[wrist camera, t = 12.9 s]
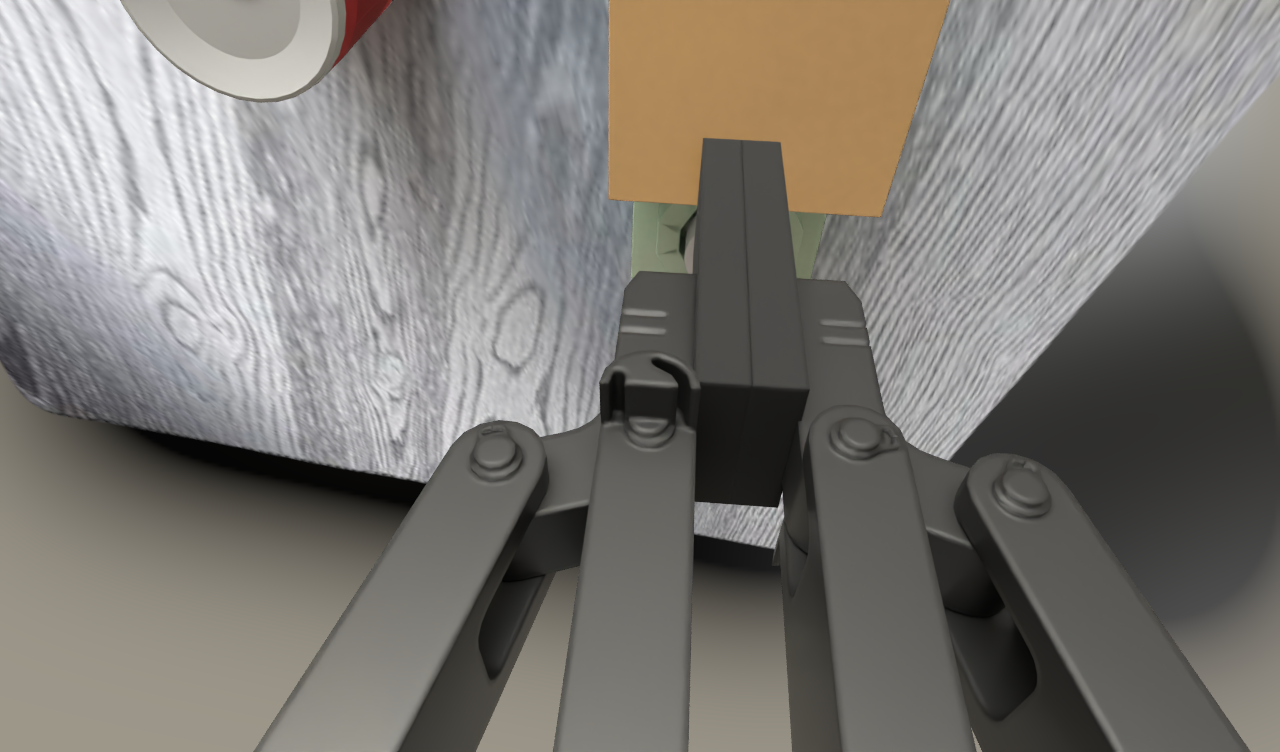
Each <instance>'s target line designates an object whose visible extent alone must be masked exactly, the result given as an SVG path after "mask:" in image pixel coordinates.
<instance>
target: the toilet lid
mask: <svg viewBox="0 0 1280 752" xmlns="http://www.w3.org/2000/svg"><path fill="white" fill-rule="evenodd" d="M949 3H950V0H609V189H608V198H609V200H619V201H635V202H650V203H665V204H681V205H696V206H697V203H698V192H699V180H700V168H701V156H702V144H703V138H715V139H734V140H753V141H772V142H781V150H782V158H783V167H784V175H785V183H786V192H787V200H788V209H789V212H804V213H819V214H835V215H850V216H865V217H881V216H882V213H883V209H884V206H885V203H886V200H887V197H888V194H889V191H890V188H891V185H892V181H893V178H894V175H895V172H896V169H897V166H898V163H899V160H900V156H901V153H902V150H903V147H904V144H905V141H906V138H907V135H908V131H909V128H910V125H911V122H912V119H913V116H914V113H915V110H916V106H917V103H918V100H919V97H920V94H921V91H922V88H923V85H924V81H925V78H926V75H927V72H928V69H929V66H930V63H931V60H932V56H933V53H934V50H935V47H936V44H937V41H938V38H939V35H940V31H941V28H942V25H943V22H944V19H945V16H946V13H947V10H948V6H949Z"/></svg>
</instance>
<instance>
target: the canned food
mask: <svg viewBox="0 0 1280 752" xmlns="http://www.w3.org/2000/svg"><path fill="white" fill-rule="evenodd" d="M120 1H121V3H122V5H123V7H124V8H125V10H126V11H127V12H128V14H129V15H130V17H131V18H132V20H133V21H134V23H135V24H136V26H137V27H138V29H139V30H140V31H141V32H142V33H143V35H144V36H145V37H146V38H147V39H148V40H149V42H150V43H151V44H152V45H153V46H154V47H155V48H156V50H158V51H159V52H160V53H161V54H162V55H163V56H164V57H165V58H166V59H168V60H169V61H170V62H171V63H172V64H173V65H174V66H175V67H177V68H178V69H179V70H181V71H182V72H184V73H185V74H187V75H188V76H190V77H191V78H192V79H194V80H195V81H197V82H199V83H201V84H203V85H205V86H207V87H208V88H210V89H212V90H214V91H216V92H218V93H221V94H224V95H227V96H230V97H233V98H236V99H240V100H246V101H253V102H279V101H283V100H286V99H290V98H293V97H296V96H298V95H300V94H301V93H303V92H305V91H307V90H308V89H310V88H311V87H312V86H314V85H316V84H317V83H319V82H320V81H321V80H322V79H323V77H324V76H325V75H326V74H327V73H328V72H329V71H330V70H331V69H332V68H333V67H334V66H335V65H336V64H337V63H338V62H339V61H340V60H341V59H342V58H343V57H344V56H345V55H346V54H347V52H348V51H349V50H350V49H351V48H352V47H353V46H354V44H355V43H356V42H357V41H358V40H359V39H360V38H361V37H362V35H363V34H364V33H365V32H366V31H367V30H368V29H369V27H370V26H371V25H372V24H373V23H374V22H375V21H376V20H377V18H378V17H379V16H380V15H381V14H382V13H383V12H384V10H385V9H386V8H387V7H388V6H389V5H390V4H391V3H392V1H393V0H120Z"/></svg>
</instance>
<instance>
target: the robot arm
mask: <svg viewBox="0 0 1280 752" xmlns="http://www.w3.org/2000/svg"><path fill="white" fill-rule="evenodd" d="M869 343H870V340H869V336H868V331H867V328H866V321H865V317H864V312H863V307H862V302H861V300H860V299H859V298H858V297H857V296H856V294H855V293H854V292H853V291H852V289H851V288H850V287H849V286H848V284H847V283H846V282H845V281H834V280H817V279H801V278H797V276H796V268H795V259H794V251H793V242H792V234H791V226H790V217H789V209H788V200H787V192H786V183H785V175H784V167H783V158H782V150H781V142H772V141H753V140H734V139H715V138H703V144H702V156H701V168H700V180H699V192H698V203H697V215H696V227H695V239H694V251H693V273H692V274H685V273H669V272H652V271H639V272H638V273H637V274H636V276H635V277H634V278H633V279H632V280H631V282H630V283H629V284H628V285H627V287H626V288H625V290H624V297H623V304H622V313H621V318H620V325H619V332H618V339H617V346H616V353H615V360H614V361H613V362H612V363H611V364H610V365H609V366H608V367H606V368H605V370H604V373H603V375H602V377H601V380H600V382H599V384H600V414H599V415H597V416H596V417H595V418H594V419H593V420H592V421H590V422H589V423H587V424H585V425H583V426H581V427H579V428H577V429H574V430H570V431H567V432H563V433H558V434H553V435H548V436H543V437H539V436H538V435H537V434H536V433H535V431H534V430H533V429H531V428H529V427H527V426H525V425H522V424H520V423H518V422H511V421H501V420H498V421H493V422H488V423H483V424H479V425H477V426H476V427H474V428H472V429H470V430H468V431H466V432H464V433H463V434H462V435H461V436H460V437H459V438H458V439H457V440H456V441H455V442H454V444H453V445H452V446H451V447H450V449H449V450H448V452H447V453H446V455H445V456H444V458H443V460H442V461H441V463H440V464H439V466H438V467H437V469H436V470H435V472H434V473H433V475H432V477H431V478H430V480H429V481H428V483H427V484H426V486H425V487H424V489H423V490H422V492H421V494H420V495H419V497H418V498H417V500H416V501H415V503H414V504H413V506H412V508H411V509H410V511H409V512H408V514H407V515H406V517H405V518H404V520H403V521H402V523H401V525H400V526H399V528H398V529H397V531H396V532H395V534H394V535H393V537H392V538H391V540H390V541H389V543H388V545H387V546H386V548H385V549H384V551H383V552H382V554H381V556H380V557H379V559H378V560H377V562H376V563H375V565H374V567H373V568H372V569H371V571H370V572H369V574H368V576H367V577H366V579H365V580H364V582H363V583H362V585H361V586H360V588H359V589H358V591H357V593H356V594H355V596H354V597H353V599H352V600H351V602H350V603H349V605H348V606H347V608H346V610H345V611H344V613H343V614H342V616H341V617H340V619H339V620H338V622H337V623H336V625H335V627H334V628H333V630H332V631H331V633H330V634H329V636H328V637H327V639H326V640H325V642H324V644H323V645H322V647H321V648H320V650H319V651H318V653H317V654H316V656H315V658H314V659H313V661H312V662H311V664H310V665H309V667H308V668H307V670H306V671H305V673H304V675H303V676H302V678H301V679H300V681H299V682H298V684H297V685H296V687H295V688H294V690H293V691H292V693H291V695H290V696H289V698H288V699H287V701H286V703H285V704H284V705H283V707H282V708H281V710H280V712H279V713H278V715H277V716H276V718H275V720H274V721H273V722H272V724H271V725H270V727H269V729H268V730H267V732H266V733H265V735H264V737H263V738H262V739H261V741H260V743H259V744H258V746H257V747H256V749H255V750H254V752H476V750H477V747H478V745H479V743H480V741H481V739H482V736H483V734H484V732H485V730H486V727H487V725H488V723H489V721H490V718H491V716H492V714H493V712H494V710H495V707H496V705H497V703H498V701H499V698H500V696H501V694H502V692H503V690H504V687H505V685H506V683H507V680H508V678H509V676H510V674H511V672H512V669H513V667H514V665H515V663H516V661H517V658H518V656H519V654H520V652H521V649H522V647H523V645H524V642H525V640H526V638H527V635H528V634H529V631H530V629H531V627H532V625H533V623H534V620H535V618H536V616H537V614H538V611H539V609H540V607H541V604H542V602H543V600H544V598H545V596H546V594H547V591H548V589H549V587H550V584H551V582H552V580H553V578H554V576H555V573H556V571H560V570H565V569H569V568H573V567H577V566H580V570H579V577H578V583H577V590H576V598H575V604H574V612H573V618H572V625H571V632H570V638H569V646H568V652H567V659H566V666H565V673H564V679H563V687H562V693H561V700H560V707H559V714H558V721H557V727H556V734H555V741H554V748H553V752H688V740H689V701H690V661H691V660H690V659H691V622H692V583H693V581H692V580H693V541H694V504H695V502H708V503H722V504H735V505H749V506H763V507H776V508H778V506H779V502H780V498H781V494H782V491H783V504H784V519H783V523H782V526H781V530H780V533H779V537H778V540H777V544H776V547H775V551H774V555H773V561H772V565H773V566H779V564H780V562H781V578H782V594H783V610H784V626H785V642H786V658H787V674H788V690H789V707H790V723H791V738H792V752H976V748H975V743H974V738H973V734H972V730H973V732H974V734H975V736H976V739H977V741H978V743H979V745H980V747H981V750H982V752H1250V750H1249V749H1248V747H1247V746H1246V744H1245V743H1244V742H1243V740H1242V739H1241V737H1240V736H1239V734H1238V733H1237V731H1236V730H1235V729H1234V727H1233V725H1232V724H1231V723H1230V721H1229V720H1228V718H1227V717H1226V715H1225V714H1224V712H1223V711H1222V710H1221V708H1220V707H1219V705H1218V704H1217V702H1216V701H1215V700H1214V698H1213V697H1212V695H1211V694H1210V692H1209V691H1208V689H1207V688H1206V686H1205V685H1204V684H1203V682H1202V681H1201V679H1200V678H1199V676H1198V675H1197V674H1196V672H1195V671H1194V669H1193V668H1192V666H1191V665H1190V663H1189V662H1188V660H1187V659H1186V657H1185V656H1184V655H1183V653H1182V652H1181V650H1180V649H1179V647H1178V646H1177V645H1176V643H1175V642H1174V640H1173V639H1172V637H1171V636H1170V634H1169V633H1168V631H1167V630H1166V629H1165V627H1164V626H1163V624H1162V623H1161V621H1160V620H1159V618H1158V617H1157V616H1156V614H1155V613H1154V611H1153V610H1152V608H1151V607H1150V605H1149V604H1148V603H1147V601H1146V600H1145V598H1144V597H1143V595H1142V594H1141V592H1140V591H1139V589H1138V588H1137V587H1136V585H1135V584H1134V582H1133V581H1132V579H1131V578H1130V576H1129V575H1128V574H1127V572H1126V571H1125V569H1124V568H1123V566H1122V565H1121V564H1120V562H1119V560H1118V559H1117V558H1116V556H1115V555H1114V554H1113V552H1112V550H1111V549H1110V547H1109V546H1108V545H1107V543H1106V542H1105V540H1104V539H1103V538H1102V536H1101V535H1100V533H1099V532H1098V530H1097V529H1096V527H1095V526H1094V524H1093V523H1092V521H1091V520H1090V519H1089V517H1088V516H1087V514H1086V513H1085V512H1084V510H1083V508H1082V507H1081V505H1080V504H1079V503H1078V501H1077V500H1076V498H1075V497H1074V495H1073V494H1072V492H1071V491H1070V490H1069V488H1068V487H1067V486H1066V485H1065V484H1064V483H1063V482H1062V481H1061V480H1060V478H1059V477H1058V476H1057V475H1056V474H1055V473H1054V472H1053V471H1051V470H1049V469H1048V468H1046V467H1045V466H1043V465H1041V464H1040V463H1038V462H1036V461H1035V460H1032V459H1029V458H1026V457H1022V456H1019V455H1016V454H1002V453H995V454H991V455H988V456H985V457H982V458H980V459H979V460H978V461H977V462H976V463H975V464H974V465H973V466H972V467H971V468H969V467H966V466H963V465H960V464H956V463H953V462H950V461H947V460H944V459H941V458H938V457H935V456H933V455H930V454H928V453H926V452H923V451H921V450H919V449H917V448H916V447H914V446H913V445H911V444H909V443H908V442H906V441H905V439H904V437H903V434H902V432H901V430H900V429H899V428H898V427H897V426H896V425H895V424H894V423H893V422H892V421H891V420H890V419H889V418H888V417H887V416H886V414H885V411H884V407H883V402H882V397H881V393H880V388H879V383H878V378H877V374H876V369H875V364H874V359H873V355H872V350H871V346H869ZM971 728H972V730H971Z"/></svg>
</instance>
